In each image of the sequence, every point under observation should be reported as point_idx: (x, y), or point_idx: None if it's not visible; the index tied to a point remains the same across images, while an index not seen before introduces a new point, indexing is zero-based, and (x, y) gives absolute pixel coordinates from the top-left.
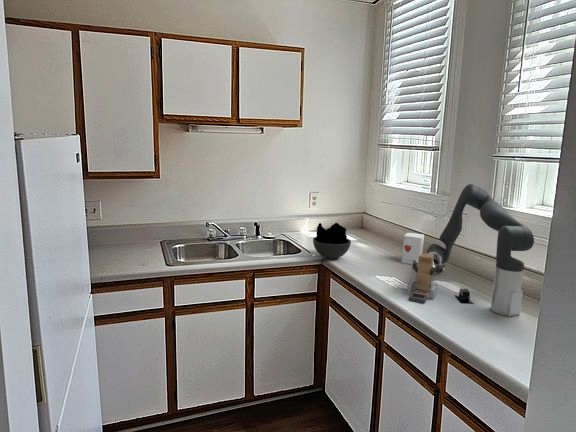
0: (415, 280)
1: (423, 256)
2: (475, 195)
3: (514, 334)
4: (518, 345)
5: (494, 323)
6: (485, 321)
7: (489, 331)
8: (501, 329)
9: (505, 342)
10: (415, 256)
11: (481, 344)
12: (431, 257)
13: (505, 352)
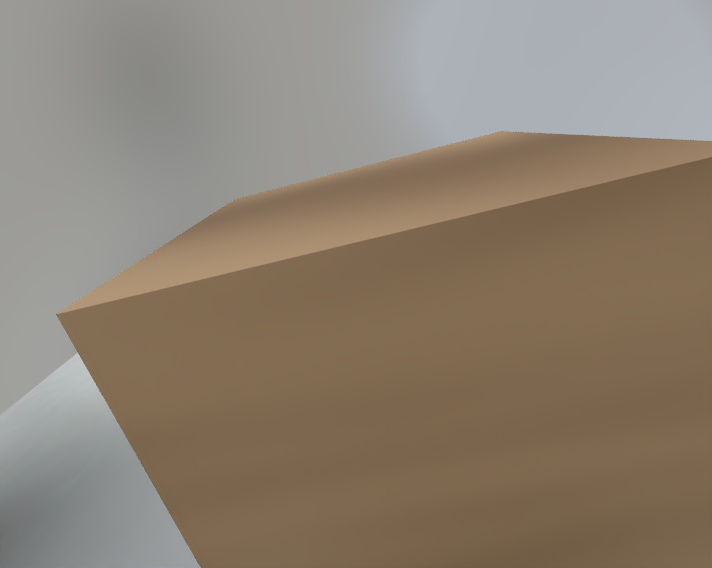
0: None
1: (402, 157)
2: None
3: (6, 437)
4: (57, 383)
5: (22, 480)
6: (59, 473)
7: (102, 403)
8: (33, 444)
9: (89, 376)
10: None
11: None
12: (234, 202)
13: None
